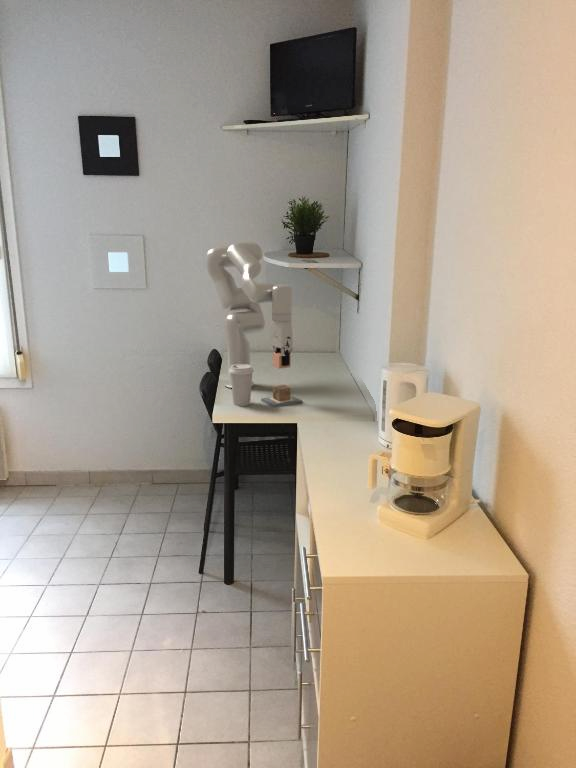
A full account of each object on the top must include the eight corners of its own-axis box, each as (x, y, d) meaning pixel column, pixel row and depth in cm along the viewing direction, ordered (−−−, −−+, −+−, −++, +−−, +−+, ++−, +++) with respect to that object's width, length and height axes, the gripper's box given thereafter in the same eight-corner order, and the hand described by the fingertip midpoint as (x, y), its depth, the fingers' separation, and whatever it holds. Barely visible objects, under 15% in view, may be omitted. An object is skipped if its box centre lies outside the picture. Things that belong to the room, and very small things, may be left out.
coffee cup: (229, 400, 259) (228, 363, 255) (253, 400, 260) (253, 363, 256) (229, 407, 250) (228, 369, 246) (254, 407, 250) (253, 369, 246)
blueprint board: (261, 400, 259) (261, 398, 258) (289, 396, 265) (289, 393, 265) (273, 407, 250) (273, 404, 250) (302, 402, 256) (302, 399, 256)
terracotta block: (272, 366, 255) (272, 353, 253) (284, 364, 257) (284, 352, 256) (279, 368, 250) (279, 355, 249) (290, 367, 253) (290, 354, 252)
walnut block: (272, 398, 258) (272, 386, 257) (283, 396, 260) (284, 384, 259) (279, 401, 254) (279, 389, 253) (290, 399, 256) (290, 387, 255)
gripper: (262, 315, 254) (263, 361, 259) (284, 321, 240) (284, 369, 245) (279, 314, 258) (279, 359, 263) (301, 319, 244) (301, 367, 248)
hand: (282, 363), depth 254 cm, fingers closed on terracotta block, 4 cm apart
